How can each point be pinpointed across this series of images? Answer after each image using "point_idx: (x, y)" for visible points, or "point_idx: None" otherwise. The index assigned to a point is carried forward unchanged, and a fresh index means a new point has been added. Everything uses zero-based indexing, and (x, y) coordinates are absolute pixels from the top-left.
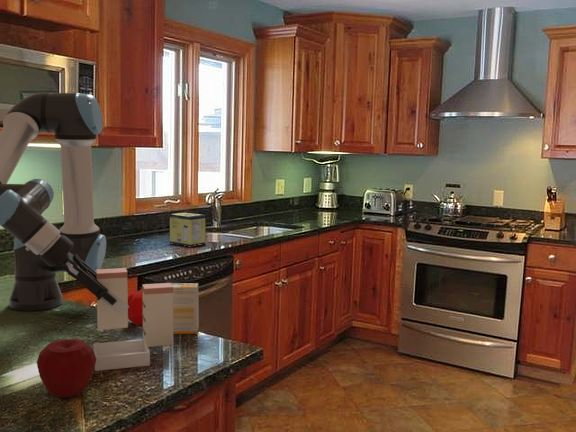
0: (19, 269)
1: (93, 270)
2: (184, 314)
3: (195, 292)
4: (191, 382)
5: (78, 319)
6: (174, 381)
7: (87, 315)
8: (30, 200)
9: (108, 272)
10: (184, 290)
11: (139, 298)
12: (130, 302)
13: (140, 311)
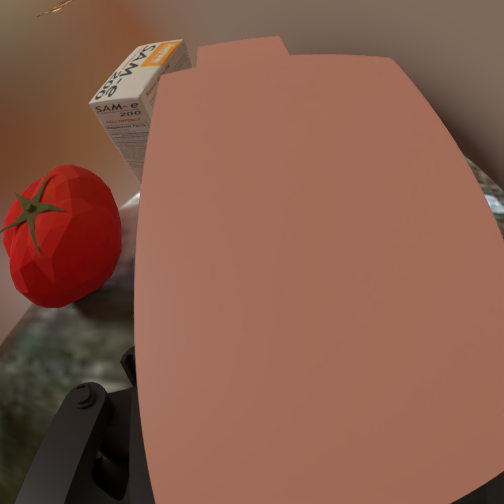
0: None
1: (31, 501)
2: None
3: (187, 53)
4: (479, 170)
5: (31, 431)
6: (484, 194)
7: (11, 404)
8: None
9: (486, 264)
10: (172, 66)
11: (65, 236)
12: (51, 278)
13: (103, 251)
